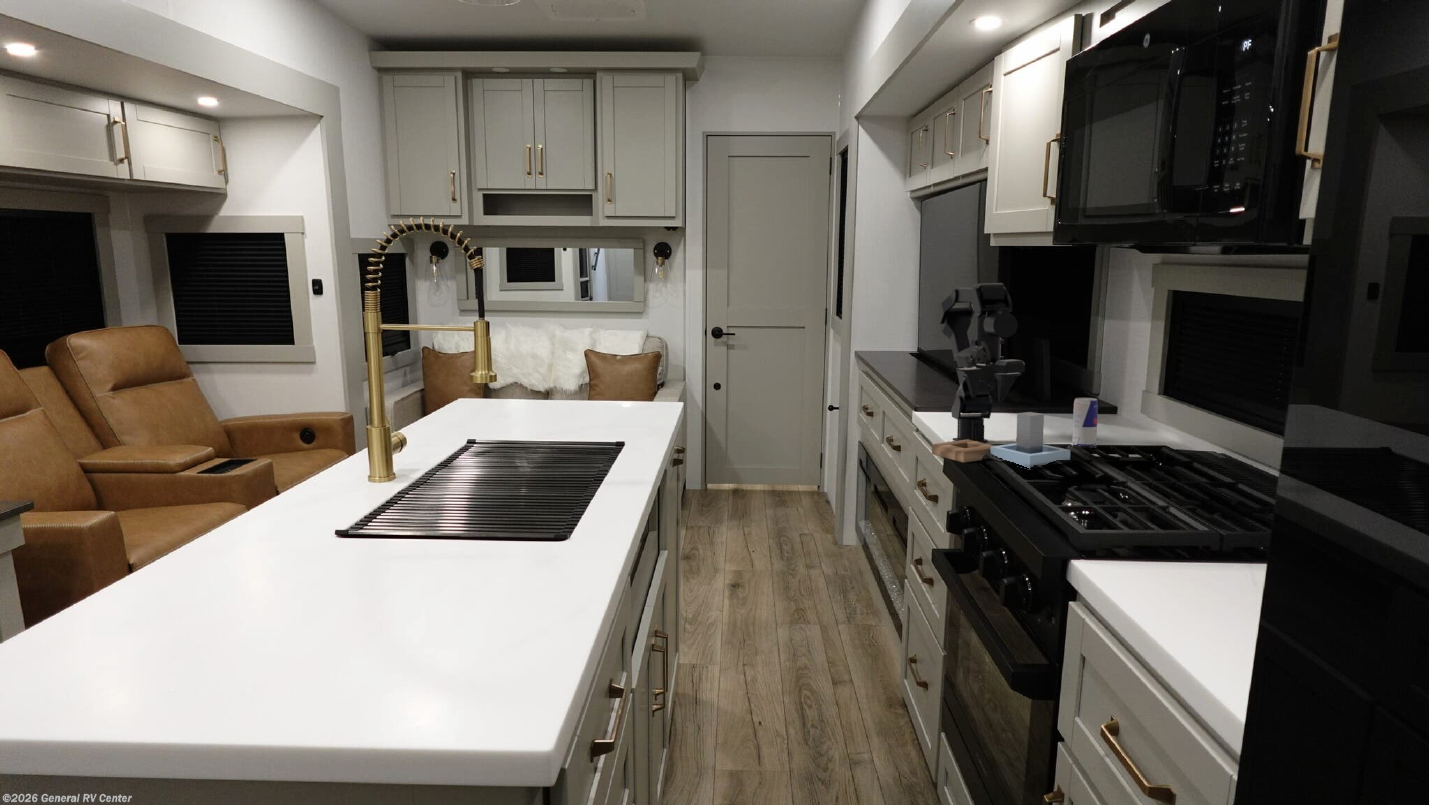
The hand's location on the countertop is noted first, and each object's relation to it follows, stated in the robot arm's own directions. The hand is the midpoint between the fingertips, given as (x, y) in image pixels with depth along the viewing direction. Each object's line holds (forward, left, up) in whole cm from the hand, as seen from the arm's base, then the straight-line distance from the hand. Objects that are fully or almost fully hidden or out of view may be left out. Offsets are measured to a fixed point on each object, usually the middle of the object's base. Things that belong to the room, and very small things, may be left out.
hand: (987, 399), depth 193 cm
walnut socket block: (+3, -9, -12) cm, 16 cm away
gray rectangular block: (+15, -1, -12) cm, 19 cm away
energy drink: (+10, +22, -13) cm, 27 cm away
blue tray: (+15, -1, -12) cm, 19 cm away
